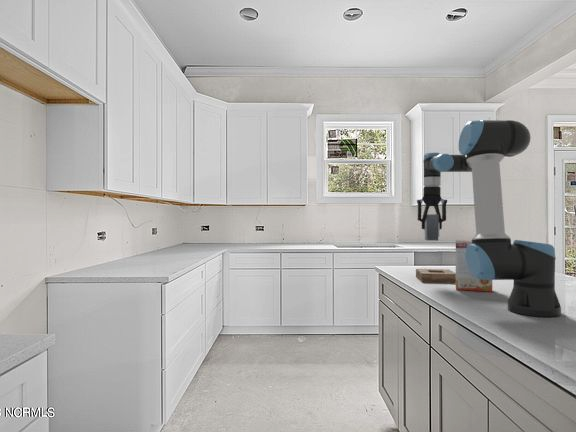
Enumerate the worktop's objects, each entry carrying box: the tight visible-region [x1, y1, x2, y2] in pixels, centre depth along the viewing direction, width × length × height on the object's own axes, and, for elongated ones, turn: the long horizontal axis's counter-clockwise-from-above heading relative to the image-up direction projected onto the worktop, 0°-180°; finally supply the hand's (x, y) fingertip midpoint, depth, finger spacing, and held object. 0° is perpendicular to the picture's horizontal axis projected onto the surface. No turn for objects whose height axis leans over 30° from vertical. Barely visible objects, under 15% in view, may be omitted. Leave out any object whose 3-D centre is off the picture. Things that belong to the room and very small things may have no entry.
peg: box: [424, 213, 439, 242], centre depth 189 cm, size 5×5×12 cm
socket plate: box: [415, 268, 456, 284], centre depth 195 cm, size 16×16×4 cm
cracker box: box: [455, 239, 493, 293], centre depth 170 cm, size 14×6×21 cm, turn 68°
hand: (431, 236), depth 189 cm, fingers closed on peg, 5 cm apart
